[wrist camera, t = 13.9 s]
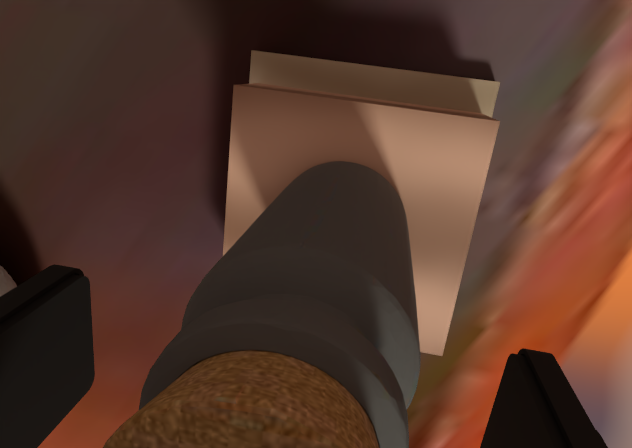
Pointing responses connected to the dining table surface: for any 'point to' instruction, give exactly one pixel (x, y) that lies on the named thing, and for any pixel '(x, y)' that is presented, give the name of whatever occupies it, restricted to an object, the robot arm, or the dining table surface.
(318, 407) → the bottle
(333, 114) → the pedestal
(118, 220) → the dining table surface
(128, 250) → the dining table surface
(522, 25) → the dining table surface
